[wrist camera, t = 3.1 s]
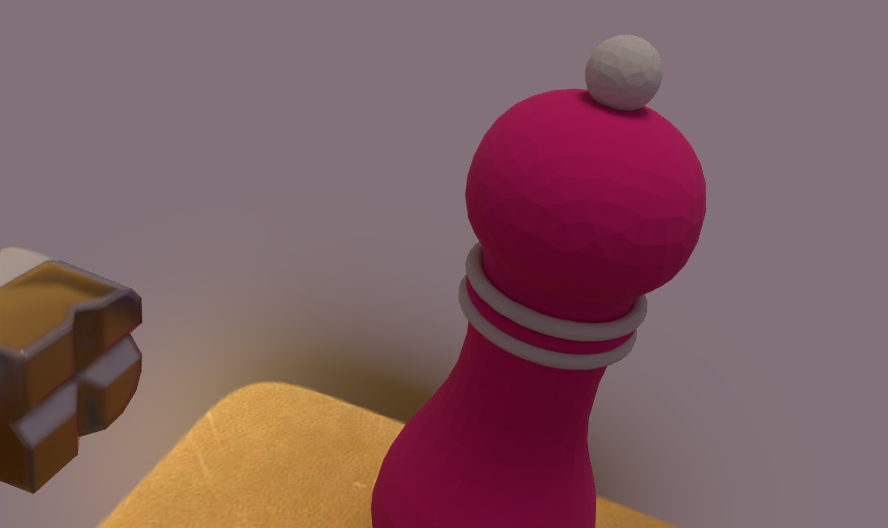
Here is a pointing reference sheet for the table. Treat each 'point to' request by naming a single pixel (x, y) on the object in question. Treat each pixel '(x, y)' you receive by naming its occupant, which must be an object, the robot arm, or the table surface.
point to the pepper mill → (548, 299)
